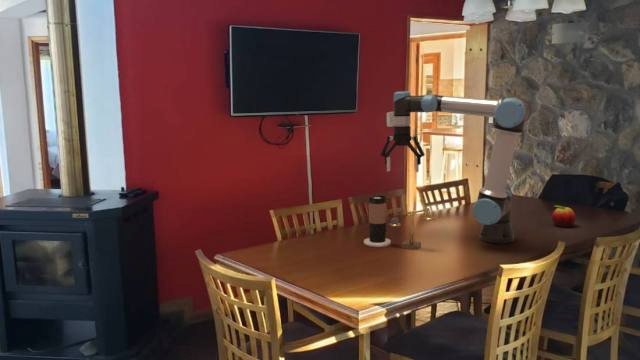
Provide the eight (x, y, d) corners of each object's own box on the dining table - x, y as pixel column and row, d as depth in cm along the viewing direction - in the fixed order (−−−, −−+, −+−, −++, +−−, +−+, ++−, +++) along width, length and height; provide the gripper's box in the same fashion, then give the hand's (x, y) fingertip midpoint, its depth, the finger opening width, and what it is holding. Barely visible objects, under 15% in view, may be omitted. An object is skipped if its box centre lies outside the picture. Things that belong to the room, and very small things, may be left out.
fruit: (568, 229, 273) (569, 209, 271) (547, 226, 281) (548, 206, 280) (579, 226, 280) (580, 206, 278) (557, 222, 288) (558, 203, 286)
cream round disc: (394, 241, 257) (394, 238, 257) (384, 248, 247) (384, 245, 247) (369, 238, 263) (369, 236, 263) (359, 245, 252) (359, 242, 252)
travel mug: (385, 243, 250) (385, 198, 247) (368, 242, 252) (367, 198, 248) (386, 238, 258) (386, 195, 254) (369, 238, 259) (369, 195, 256)
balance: (436, 248, 245) (436, 207, 243) (432, 251, 240) (432, 210, 237) (391, 243, 255) (391, 203, 252) (386, 246, 249) (387, 206, 247)
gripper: (431, 124, 258) (431, 171, 261) (379, 125, 268) (379, 169, 271) (426, 125, 251) (427, 173, 254) (373, 126, 261) (374, 171, 265)
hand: (402, 171), depth 263 cm, fingers open, 13 cm apart
